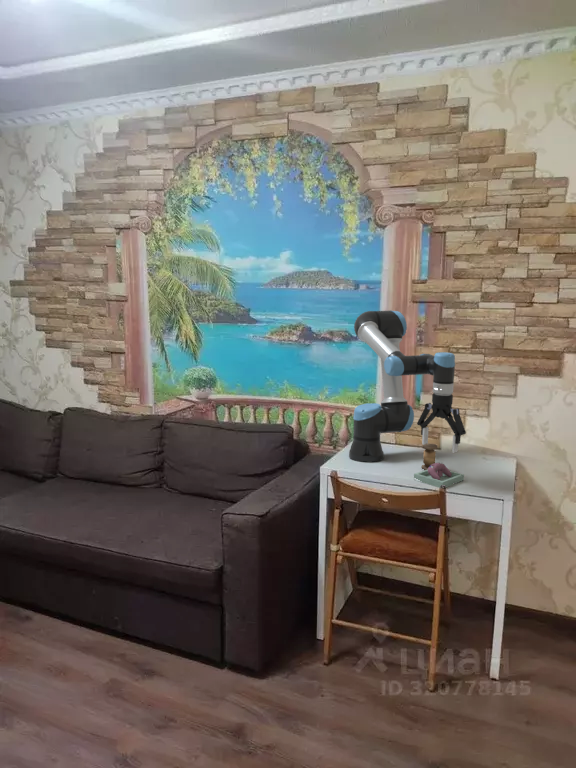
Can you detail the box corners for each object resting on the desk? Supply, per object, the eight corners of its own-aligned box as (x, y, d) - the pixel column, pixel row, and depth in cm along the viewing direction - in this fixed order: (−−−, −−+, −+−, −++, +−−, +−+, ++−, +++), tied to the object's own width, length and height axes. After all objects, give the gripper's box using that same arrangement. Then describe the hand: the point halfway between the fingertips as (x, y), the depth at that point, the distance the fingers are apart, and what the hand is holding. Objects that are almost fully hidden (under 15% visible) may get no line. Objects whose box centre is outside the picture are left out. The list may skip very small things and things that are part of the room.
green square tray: (413, 479, 223) (414, 473, 223) (435, 472, 232) (435, 466, 232) (442, 488, 214) (442, 482, 213) (463, 480, 223) (463, 474, 222)
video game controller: (443, 478, 228) (437, 461, 229) (453, 476, 224) (446, 458, 226) (430, 484, 221) (423, 467, 222) (439, 481, 218) (433, 464, 219)
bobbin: (418, 468, 237) (419, 445, 236) (427, 465, 241) (428, 442, 240) (430, 472, 233) (431, 448, 231) (439, 469, 237) (440, 445, 235)
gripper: (409, 389, 224) (407, 442, 228) (466, 400, 206) (462, 457, 210) (421, 387, 229) (418, 439, 233) (477, 397, 211) (473, 453, 215)
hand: (439, 447), depth 221 cm, fingers open, 13 cm apart
